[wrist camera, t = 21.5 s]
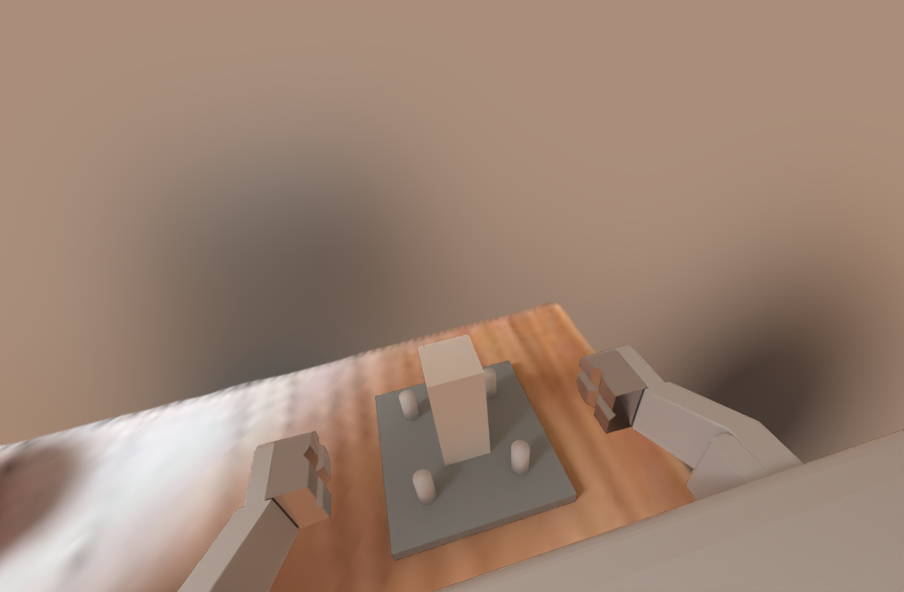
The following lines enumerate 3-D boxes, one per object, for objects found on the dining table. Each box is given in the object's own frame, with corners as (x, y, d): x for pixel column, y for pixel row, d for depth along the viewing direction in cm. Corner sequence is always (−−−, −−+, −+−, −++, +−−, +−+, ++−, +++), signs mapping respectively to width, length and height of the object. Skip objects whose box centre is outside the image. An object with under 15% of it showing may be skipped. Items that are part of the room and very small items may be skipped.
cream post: (445, 466, 39) (427, 387, 31) (435, 425, 43) (417, 347, 35) (490, 452, 40) (484, 372, 32) (476, 413, 44) (468, 334, 36)
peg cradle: (394, 560, 34) (383, 539, 31) (377, 403, 48) (368, 378, 45) (575, 501, 36) (580, 476, 33) (508, 368, 51) (508, 341, 47)
